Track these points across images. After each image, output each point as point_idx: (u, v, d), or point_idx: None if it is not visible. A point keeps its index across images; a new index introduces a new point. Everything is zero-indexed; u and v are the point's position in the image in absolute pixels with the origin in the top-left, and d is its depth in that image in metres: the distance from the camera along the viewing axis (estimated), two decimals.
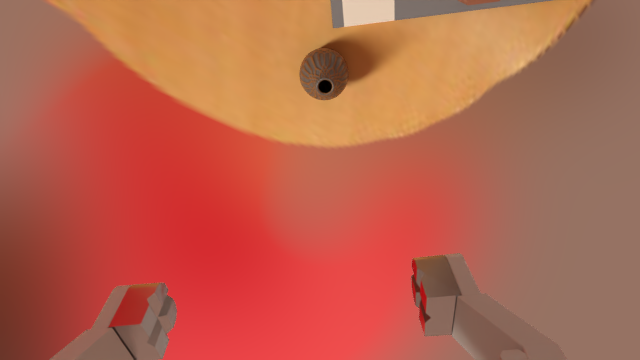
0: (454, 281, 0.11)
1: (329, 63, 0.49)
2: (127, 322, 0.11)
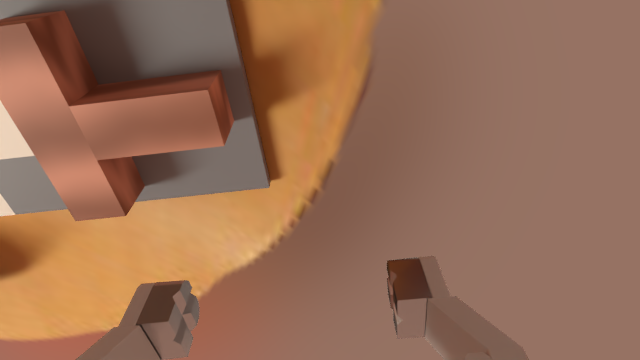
0: (426, 284, 0.11)
1: None
2: (154, 319, 0.11)
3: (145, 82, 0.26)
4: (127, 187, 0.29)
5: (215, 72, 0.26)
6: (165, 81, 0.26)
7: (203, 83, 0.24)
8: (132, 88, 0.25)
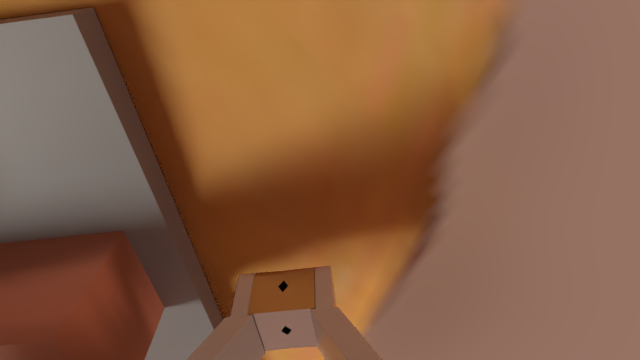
0: (315, 294, 0.11)
1: None
2: (265, 309, 0.10)
3: None
4: None
5: (108, 240, 0.12)
6: None
7: (62, 297, 0.10)
8: None
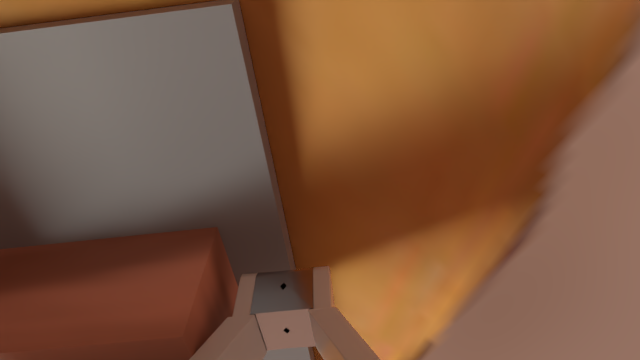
0: (313, 294, 0.11)
1: None
2: (267, 309, 0.10)
3: (50, 260, 0.12)
4: None
5: (205, 236, 0.12)
6: (91, 266, 0.11)
7: (176, 293, 0.10)
8: (13, 288, 0.11)
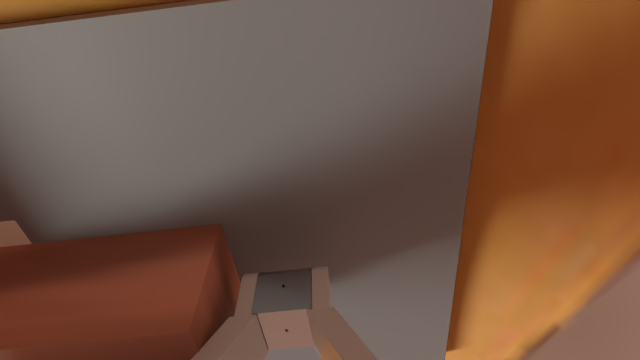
0: (311, 295, 0.11)
1: None
2: (269, 309, 0.10)
3: (54, 258, 0.12)
4: None
5: (209, 233, 0.12)
6: (95, 262, 0.11)
7: (181, 289, 0.10)
8: (17, 285, 0.11)
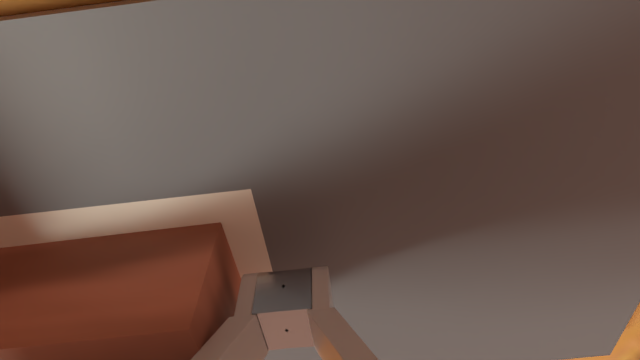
0: (312, 295, 0.11)
1: None
2: (269, 309, 0.10)
3: (55, 258, 0.12)
4: None
5: (209, 231, 0.12)
6: (97, 262, 0.11)
7: (181, 287, 0.10)
8: (19, 285, 0.11)
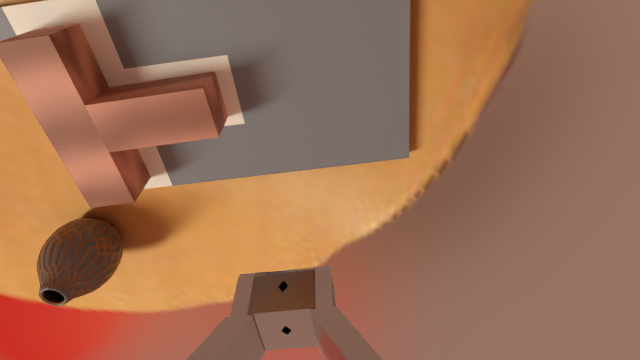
0: (315, 294, 0.11)
1: (63, 260, 0.34)
2: (265, 309, 0.10)
3: (149, 83, 0.30)
4: (135, 177, 0.33)
5: (210, 73, 0.30)
6: (166, 82, 0.30)
7: (199, 83, 0.28)
8: (138, 89, 0.29)
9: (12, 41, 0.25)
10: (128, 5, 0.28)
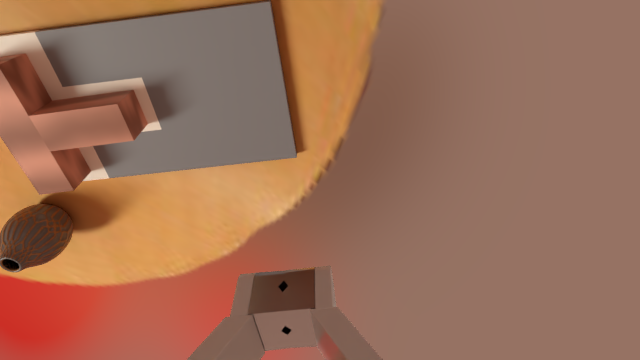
0: (315, 294, 0.11)
1: (19, 236, 0.43)
2: (265, 309, 0.10)
3: (82, 98, 0.39)
4: (75, 171, 0.42)
5: (129, 91, 0.39)
6: (94, 98, 0.38)
7: (117, 99, 0.37)
8: (72, 103, 0.38)
9: None
10: (62, 40, 0.37)
